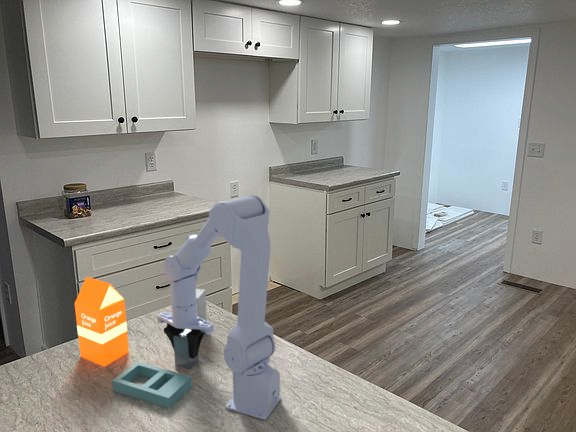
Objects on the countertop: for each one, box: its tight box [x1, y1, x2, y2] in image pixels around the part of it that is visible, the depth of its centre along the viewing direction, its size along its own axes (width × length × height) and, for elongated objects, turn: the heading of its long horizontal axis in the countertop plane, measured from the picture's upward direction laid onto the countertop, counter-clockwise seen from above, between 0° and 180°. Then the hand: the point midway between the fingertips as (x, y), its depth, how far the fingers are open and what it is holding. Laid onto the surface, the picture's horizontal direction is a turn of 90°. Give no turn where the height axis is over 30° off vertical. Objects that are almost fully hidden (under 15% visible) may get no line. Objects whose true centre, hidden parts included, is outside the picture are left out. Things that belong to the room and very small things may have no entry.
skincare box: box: [189, 288, 208, 330], centre depth 126 cm, size 6×4×12 cm
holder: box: [111, 361, 193, 409], centre depth 104 cm, size 15×8×2 cm, turn 67°
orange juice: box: [74, 276, 130, 367], centre depth 115 cm, size 8×9×20 cm
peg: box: [173, 329, 199, 370], centre depth 113 cm, size 4×4×8 cm
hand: (186, 354), depth 113 cm, fingers closed on peg, 4 cm apart
